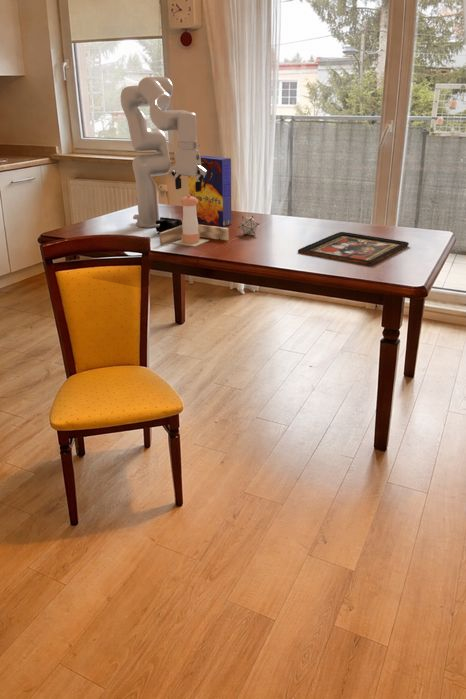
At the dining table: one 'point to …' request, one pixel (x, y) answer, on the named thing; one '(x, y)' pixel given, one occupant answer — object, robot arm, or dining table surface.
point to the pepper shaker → (189, 220)
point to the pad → (191, 243)
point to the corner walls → (203, 231)
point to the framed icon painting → (354, 248)
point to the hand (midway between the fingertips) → (188, 190)
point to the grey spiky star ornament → (248, 225)
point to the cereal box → (213, 191)
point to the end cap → (167, 224)
